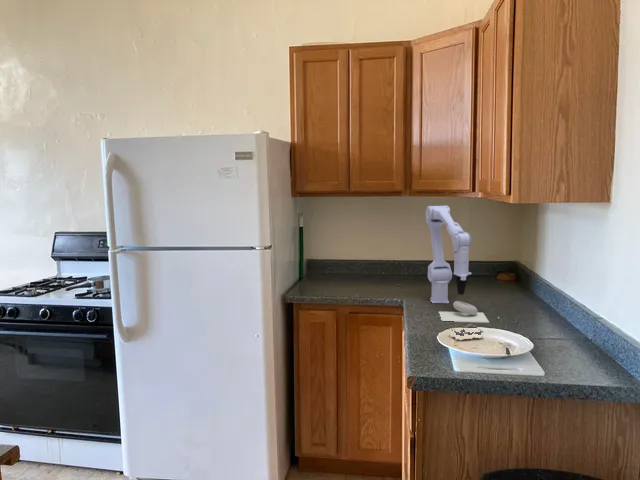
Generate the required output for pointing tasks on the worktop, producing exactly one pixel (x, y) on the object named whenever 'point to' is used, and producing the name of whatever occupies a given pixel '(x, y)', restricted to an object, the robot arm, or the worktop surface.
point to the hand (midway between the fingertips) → (460, 294)
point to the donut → (465, 307)
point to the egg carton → (468, 332)
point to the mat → (463, 317)
